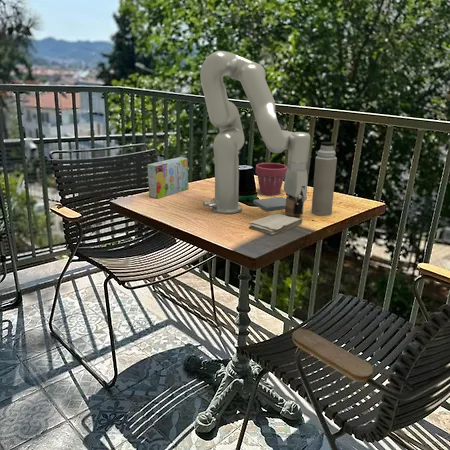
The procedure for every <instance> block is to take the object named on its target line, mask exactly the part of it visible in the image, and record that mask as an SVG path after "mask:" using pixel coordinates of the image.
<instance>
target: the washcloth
mask: <svg viewBox="0 0 450 450" xmlns="http://www.w3.org/2000/svg"><path fill="white" fill-rule="evenodd" d="M302 223H303V220H302V219H301V218H298V217H296V216H289V215H288V216H287V215H285V214H282V213H274V214H271V215H270V214H269V215H266V216H265V217H261V218H258V219H255V220H252V221H250V222H249V223H248V225H250V226H248V228H249V229H252V230H254V231H257V232H260V233H263V234H266V235H271V236H274V235H277V234H281V233H283V232H286V231H288V230H291V229H293V228H296V227H298V226H301V225H302Z"/></svg>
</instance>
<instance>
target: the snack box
mask: <svg viewBox="0 0 450 450" xmlns="http://www.w3.org/2000/svg"><path fill="white" fill-rule="evenodd" d="M188 165H189V164H188V158H187V157H182V156H181V157H180V156H179V157H174V158H170V159H165V160H161V161H156V162H153V163H148V164H147V165H146V167H147V178H148V180H147V181H148V192H149V193H148V194H149V198H152V199H157V200H158V199H162V198H166V197H168V196H171V195H174V194H177V193H181V192H183V191H187V190H189V189H190V188H189V186H190V185H189V168H188V167H189V166H188Z"/></svg>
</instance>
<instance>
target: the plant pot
mask: <svg viewBox="0 0 450 450" xmlns="http://www.w3.org/2000/svg"><path fill="white" fill-rule="evenodd" d="M287 168H288V165H286V164H284V163H283V164H282V163H279V162H278V163H276V162H275V163H274V162H260V163H257V164H256V165H255V174H256V175H257V179H258V180H257V181H258V186H259V192H260V194H261V195H265V196H277V195H279V194H280V193H281V191H282V186H283V184H284V181H285V175H286V170H287Z"/></svg>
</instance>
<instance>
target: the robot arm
mask: <svg viewBox="0 0 450 450" xmlns="http://www.w3.org/2000/svg"><path fill="white" fill-rule="evenodd" d="M199 74H200V76H199V79H200V84H201V88H202V92H203V96H204V100H205V104H206V110H207V113H208V118H209V121H210V123H211V124H212V125H213V126H214V127H216V128H218V129H219V132H218V134H217V135H216V136H215V138H214V140H213V144H212V147H213V155H214V156H213V157H214V197H212V199H211V200H210V201H208V200H207V201H203V207H209V208H210V210H211V211H212V212H214V213H218V214H224V215H225V214H228V215H230V214H236V213H240V212H242V210H243V206H242V205H241V204H239V195H240V194H239V187H240V186H239V185H240V183H239V182H240V164H239V163H240V161H239V159H240V158H239V150H241V149H243V148H242V147H244V144H245V133H244V129H243V124H242V121H241V116H240V113H239V109H238V107H237V106H236V105H235V104H234V102H232V101H229V98H228V93H227V89H226V86H225V83H224V77H225V76H227V77H229V78H232V79H234V80H236V81H238V82H240V83H241V86H242V88H243V91H244V92H245V95H246V97H247V99H248V101H249V105H250V106H251V108H252V111H253V114H254V118H255V122H256V125H257V127H258V130H259V133H260V136H261V137H262V140H263V142H264V144H265V147H266V148H267V149H268V150H269V152H270V153H272V154H282V152H284V151H285V150H288V155H287V157H288V159H287V170H286V175H285V176H284V180H283V191H284V193H285V194H286V198H289V197H295V200H296V204H295V206H294V214H301V213H302V205H303V203H304V204H305V202H306V200H307V199H308V196H307V194H308V170H309V169H308V168H309V158H310V148H311V147H310V146H311V134H310V133H308V132H304V131H294V132H293V131H289V130H283V129H282V128H281V125H280V123H279V121H278V117H277V113H276V100H275V99H274V96H273V94H272V92H271V90H270V87H269V84H268V83H267V80H266V75H267V74H266V69H265V68H264V67H263V66H262V65H261V64H259V63H258V62H255V61H252V60H249V59H247V58H245V57H242V56H239V55H237V54H235V53H233V52H230V51H225V50H218V51H217V50H216V51H215V52H212V53H211V54H209V55H208V56H207V57H206V58H205V60H204V61H203V63H202V65H201V68H200V73H199ZM298 198H300V199H299V200H298ZM303 206H304V205H303Z"/></svg>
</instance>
